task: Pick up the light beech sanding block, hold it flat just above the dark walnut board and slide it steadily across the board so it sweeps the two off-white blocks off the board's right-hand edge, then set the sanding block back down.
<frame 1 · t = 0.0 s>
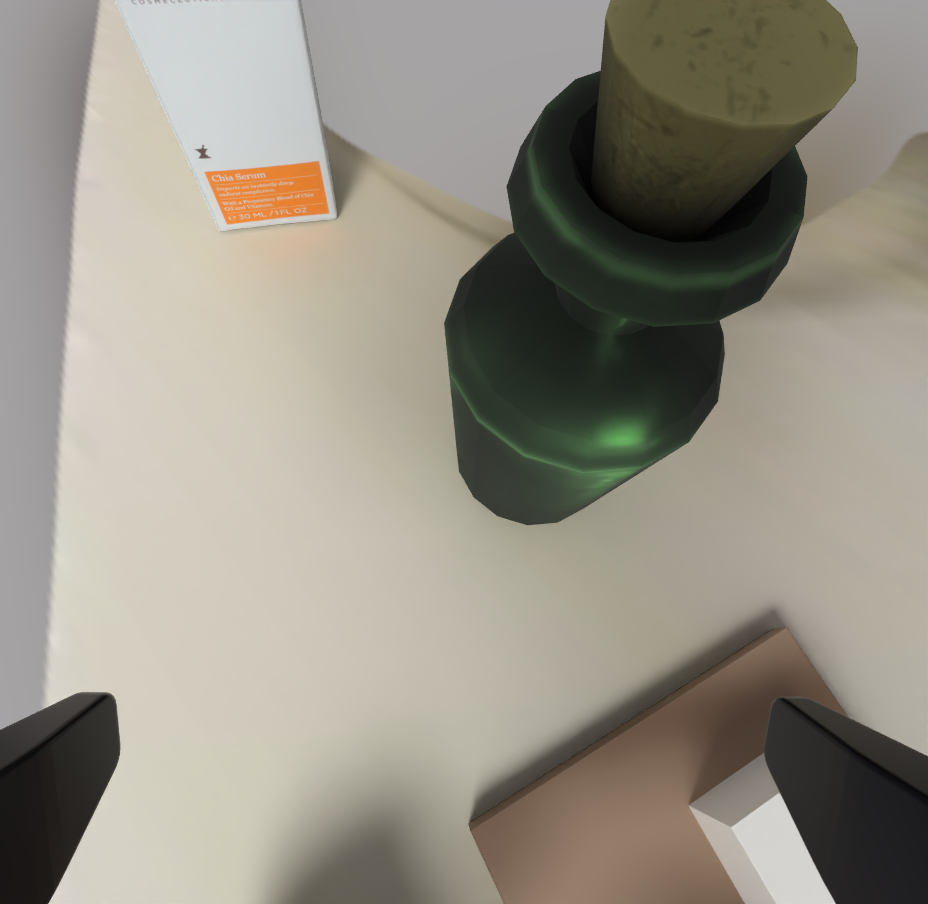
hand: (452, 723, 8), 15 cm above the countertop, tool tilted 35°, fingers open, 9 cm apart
chip b: (768, 831, 20), point 1 cm above the countertop, touching walnut board
skincare box: (278, 199, 30), on the countertop
potion bottle: (529, 455, 26), on the countertop
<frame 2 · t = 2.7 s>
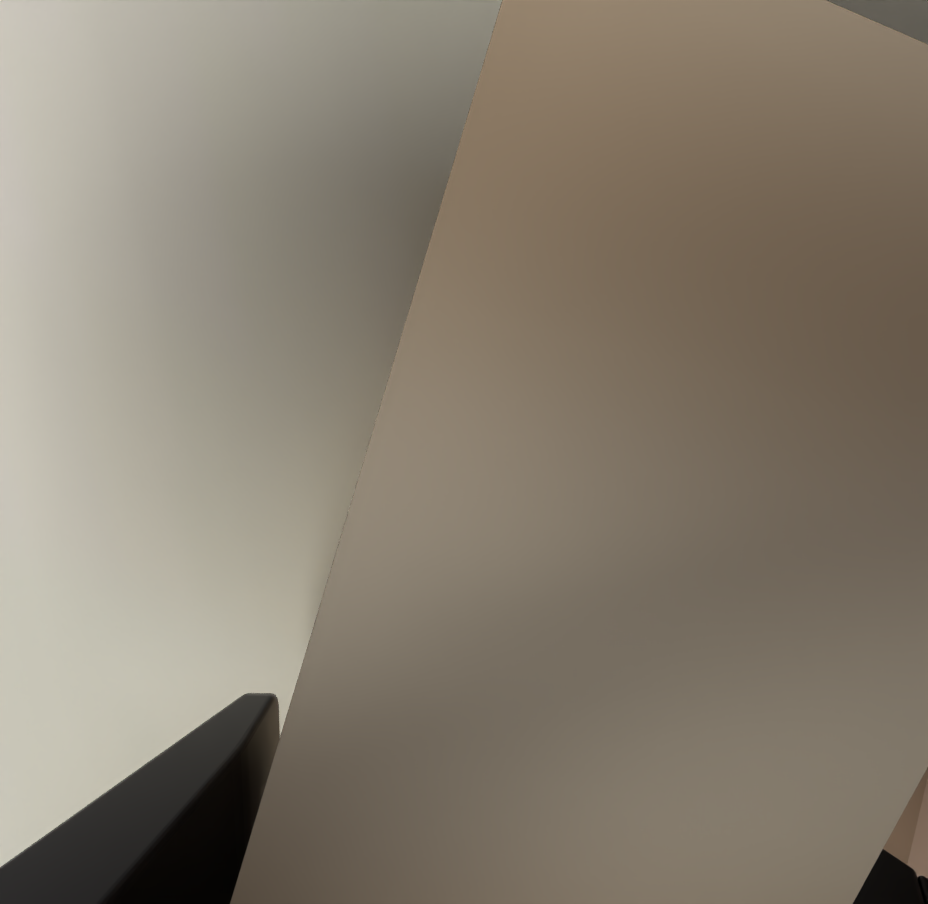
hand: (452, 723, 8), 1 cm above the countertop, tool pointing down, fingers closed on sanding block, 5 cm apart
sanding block: (452, 675, 9), on the countertop, touching gripper
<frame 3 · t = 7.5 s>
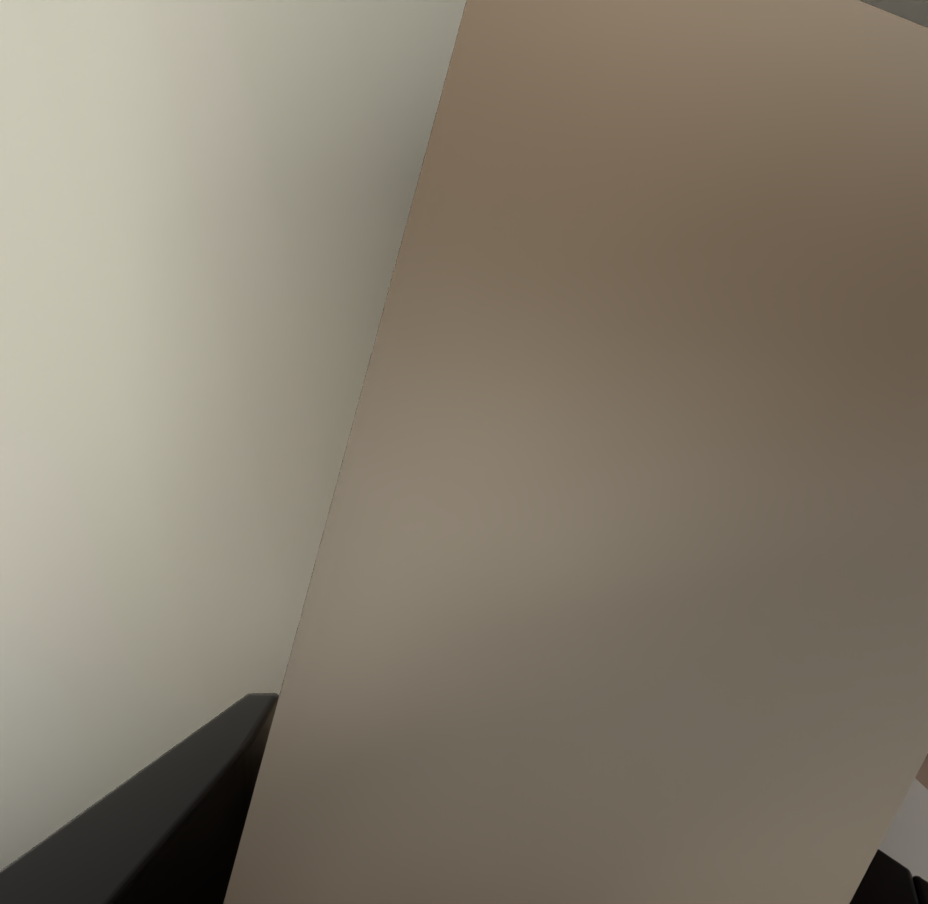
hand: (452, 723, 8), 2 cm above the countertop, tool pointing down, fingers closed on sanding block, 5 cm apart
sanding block: (452, 674, 9), point 1 cm above the countertop, touching gripper
chip a: (738, 836, 10), point 1 cm above the countertop, touching walnut board
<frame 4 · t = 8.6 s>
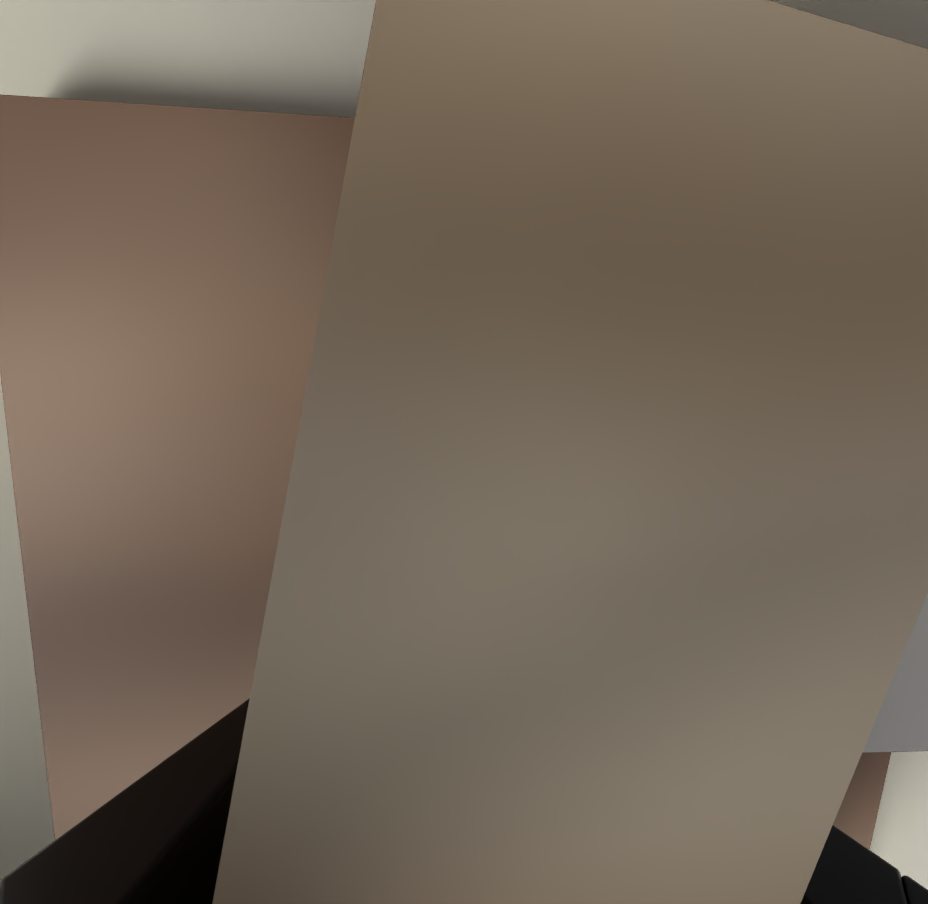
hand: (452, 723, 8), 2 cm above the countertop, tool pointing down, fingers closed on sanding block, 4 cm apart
chip b: (808, 487, 9), point 1 cm above the countertop, touching gripper, walnut board
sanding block: (451, 669, 9), point 1 cm above the countertop, touching gripper
walnut board: (483, 641, 10), on the countertop
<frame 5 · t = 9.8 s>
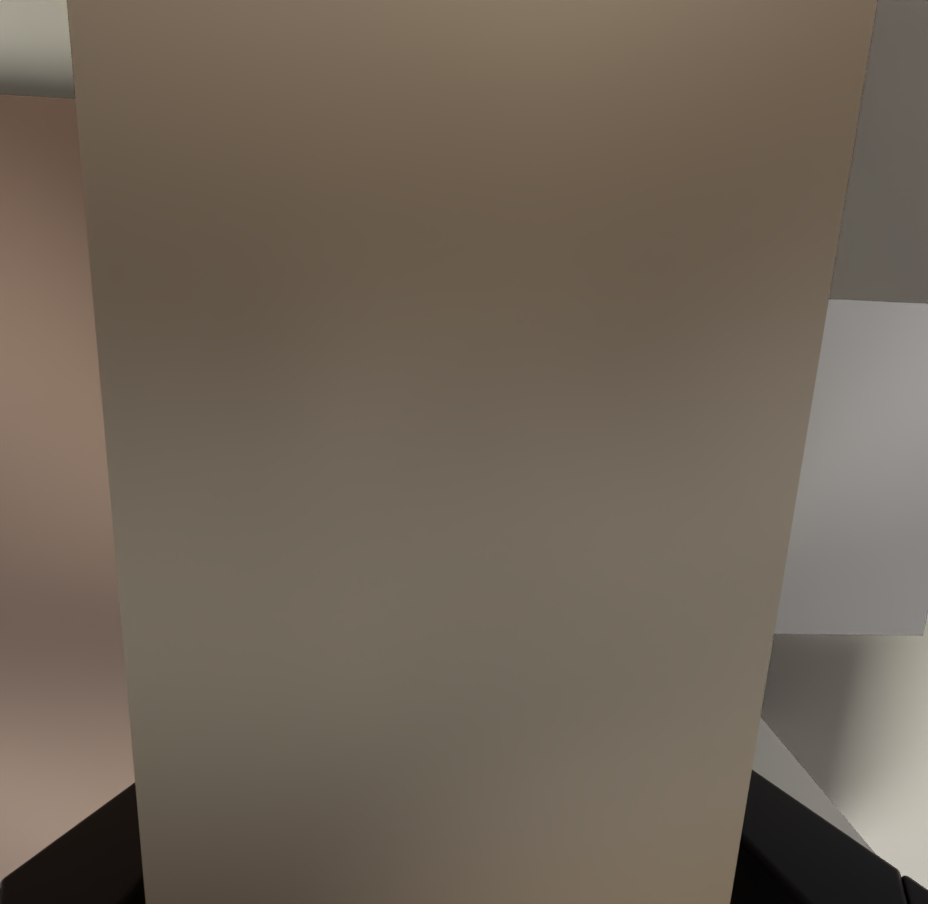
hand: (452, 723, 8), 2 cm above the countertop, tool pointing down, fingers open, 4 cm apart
chip b: (684, 432, 10), on the countertop, touching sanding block
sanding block: (438, 659, 9), point 1 cm above the countertop, touching chip a, chip b, gripper
chip a: (640, 803, 11), on the countertop, touching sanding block
walnut board: (84, 636, 10), on the countertop
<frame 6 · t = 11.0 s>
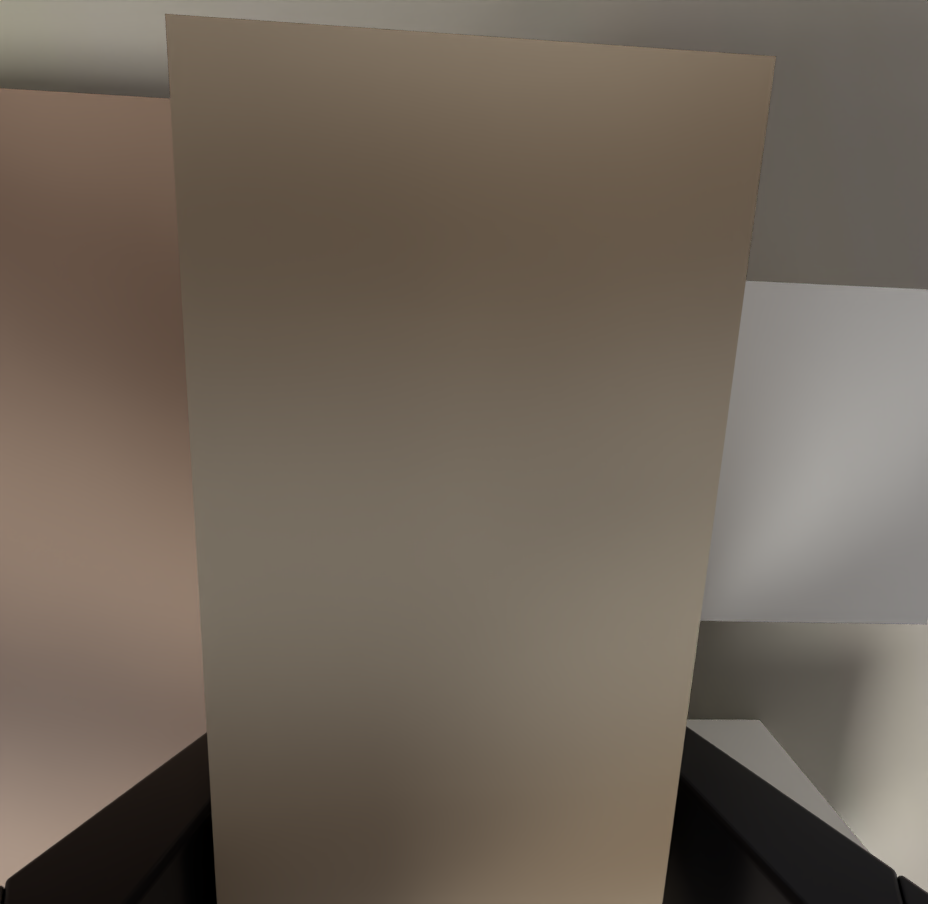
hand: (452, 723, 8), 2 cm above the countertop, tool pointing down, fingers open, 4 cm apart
chip b: (687, 423, 10), on the countertop, touching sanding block
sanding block: (440, 629, 10), on the countertop, touching chip a, chip b, gripper
chip a: (641, 807, 11), on the countertop, touching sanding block
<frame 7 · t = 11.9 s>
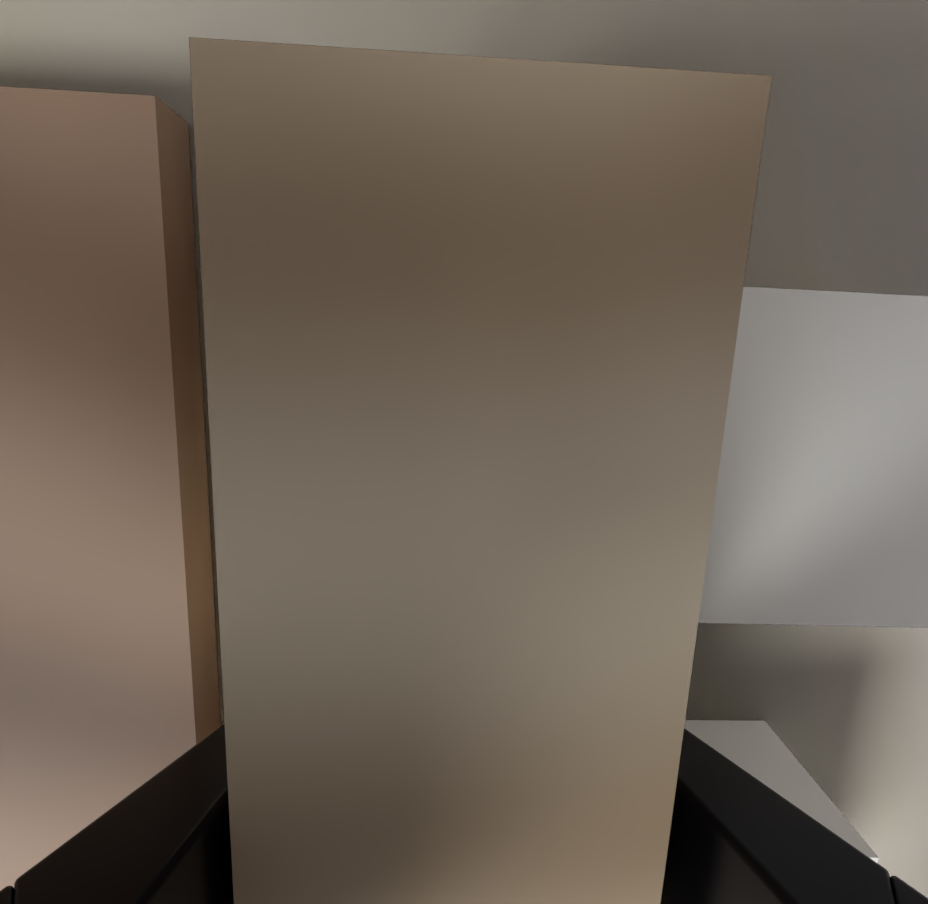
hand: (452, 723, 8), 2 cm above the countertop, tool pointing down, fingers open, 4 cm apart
chip b: (693, 426, 10), on the countertop
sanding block: (444, 626, 10), on the countertop, touching gripper
chip a: (644, 805, 11), on the countertop
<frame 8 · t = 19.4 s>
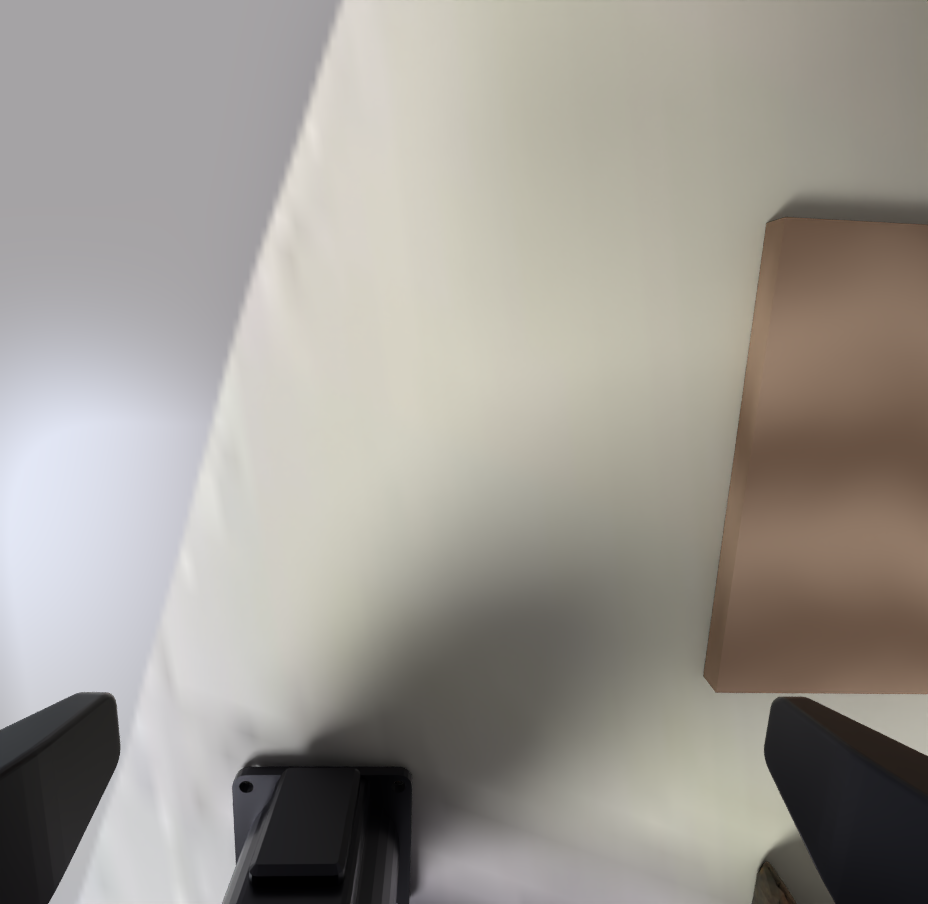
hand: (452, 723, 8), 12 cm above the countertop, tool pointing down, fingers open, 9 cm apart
walnut board: (925, 473, 20), on the countertop
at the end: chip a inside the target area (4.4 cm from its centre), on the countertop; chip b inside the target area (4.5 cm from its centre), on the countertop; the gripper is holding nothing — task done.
